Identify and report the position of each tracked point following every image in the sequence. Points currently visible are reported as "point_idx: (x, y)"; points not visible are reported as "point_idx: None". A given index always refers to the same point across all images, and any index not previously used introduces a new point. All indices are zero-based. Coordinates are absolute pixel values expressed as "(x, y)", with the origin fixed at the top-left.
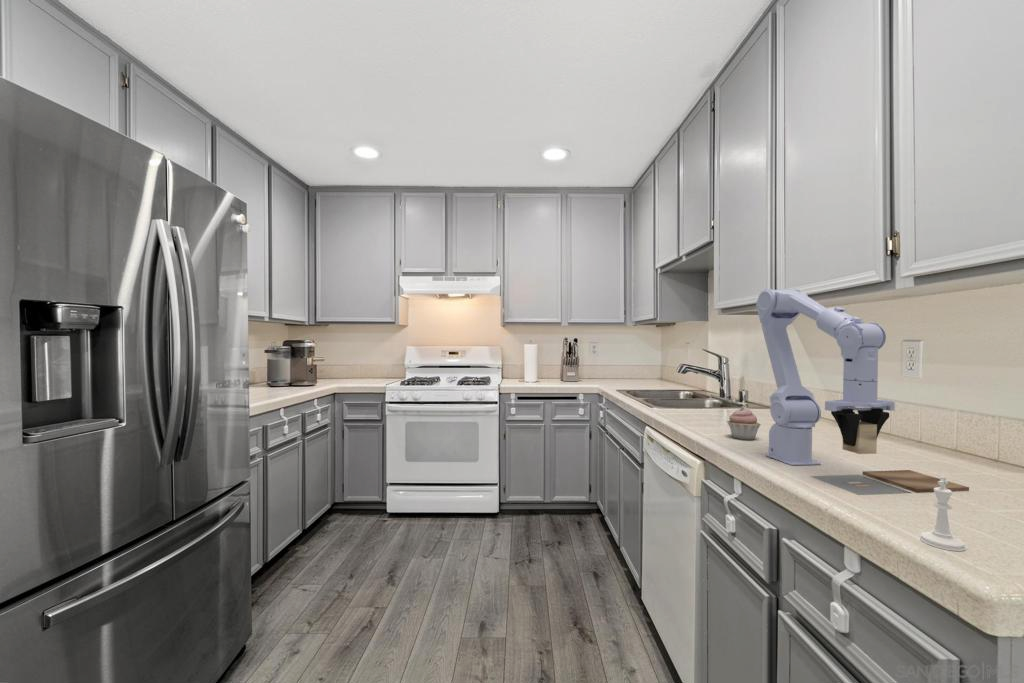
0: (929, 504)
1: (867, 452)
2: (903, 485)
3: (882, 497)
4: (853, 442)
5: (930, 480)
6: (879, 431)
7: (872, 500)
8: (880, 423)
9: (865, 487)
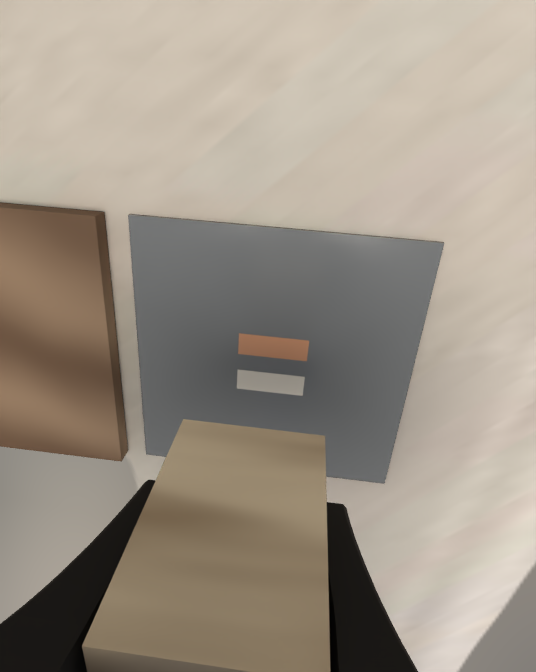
0: (201, 48)
1: (256, 433)
2: (103, 283)
3: (346, 195)
4: (346, 523)
5: None
6: (69, 567)
7: (452, 166)
8: (23, 654)
9: (288, 322)
